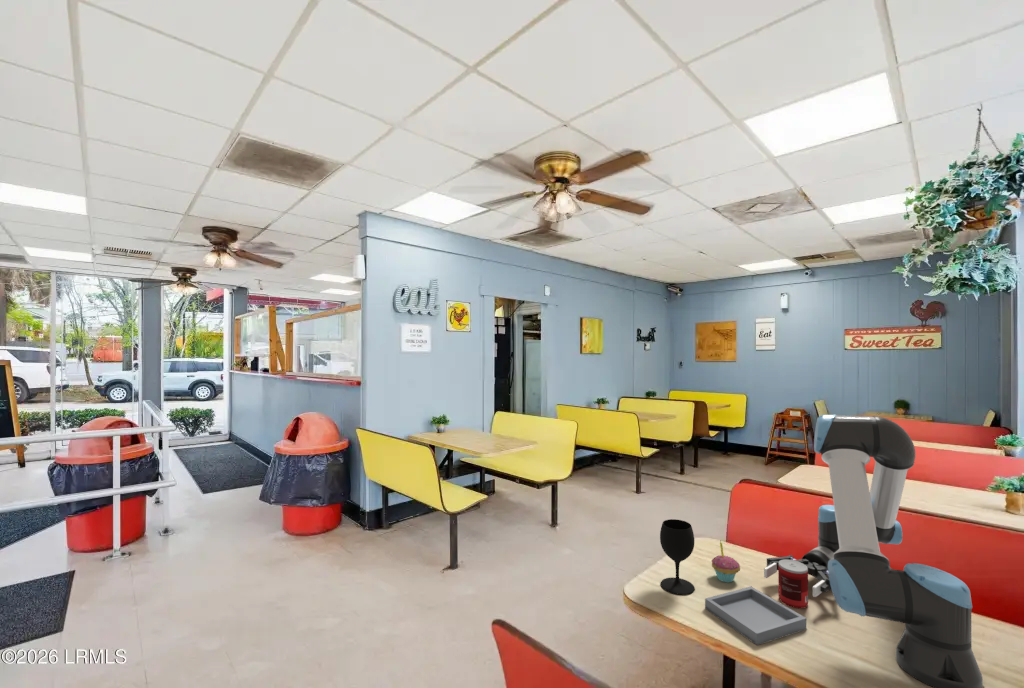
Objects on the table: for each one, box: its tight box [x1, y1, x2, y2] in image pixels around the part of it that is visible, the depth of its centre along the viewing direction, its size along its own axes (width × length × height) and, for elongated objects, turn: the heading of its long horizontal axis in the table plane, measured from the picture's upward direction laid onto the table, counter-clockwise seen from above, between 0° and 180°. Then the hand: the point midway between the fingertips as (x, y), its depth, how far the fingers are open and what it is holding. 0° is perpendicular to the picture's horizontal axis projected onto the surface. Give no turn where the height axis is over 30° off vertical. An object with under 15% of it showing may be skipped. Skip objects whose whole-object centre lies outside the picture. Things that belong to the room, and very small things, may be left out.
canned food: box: [777, 559, 809, 609], centre depth 142 cm, size 8×8×11 cm
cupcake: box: [711, 540, 741, 583], centre depth 155 cm, size 9×8×12 cm
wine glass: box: [659, 518, 696, 596], centre depth 151 cm, size 10×10×20 cm
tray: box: [704, 586, 807, 646], centre depth 133 cm, size 18×18×3 cm
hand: (788, 582), depth 140 cm, fingers open, 13 cm apart
